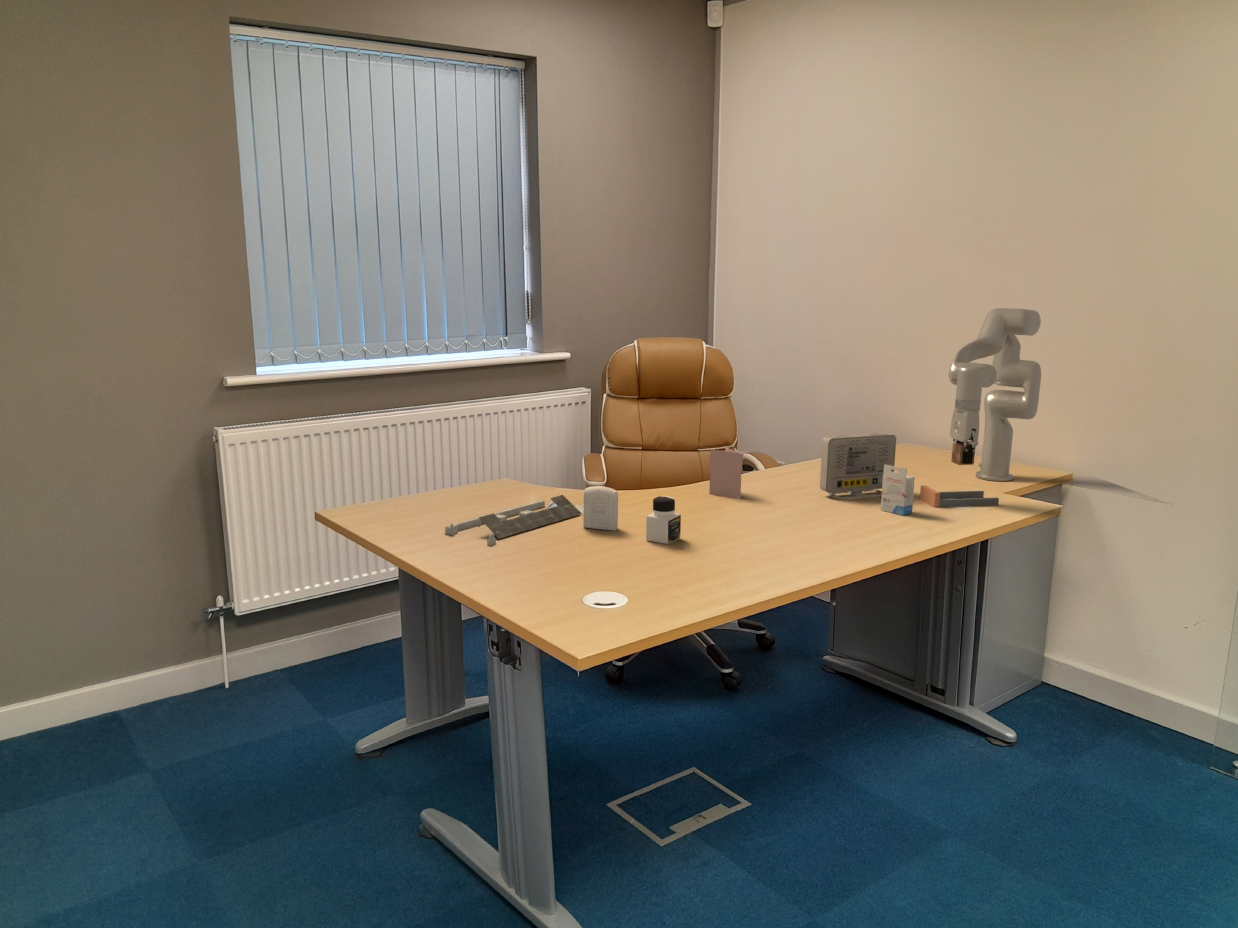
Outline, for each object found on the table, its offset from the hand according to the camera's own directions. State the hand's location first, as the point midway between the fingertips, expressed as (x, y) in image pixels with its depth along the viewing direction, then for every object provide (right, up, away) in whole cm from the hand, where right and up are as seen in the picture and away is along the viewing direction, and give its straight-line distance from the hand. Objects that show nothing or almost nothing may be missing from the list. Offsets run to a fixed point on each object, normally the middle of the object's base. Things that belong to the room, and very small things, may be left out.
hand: (962, 460), depth 295 cm
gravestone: (-115, -20, -28) cm, 120 cm away
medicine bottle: (-98, -22, -39) cm, 107 cm away
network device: (-31, -11, +12) cm, 35 cm away
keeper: (0, -1, 0) cm, 1 cm away
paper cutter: (-138, -19, -23) cm, 141 cm away
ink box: (-24, -16, -9) cm, 30 cm away
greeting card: (-75, -12, +10) cm, 77 cm away
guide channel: (+1, -13, +3) cm, 14 cm away
